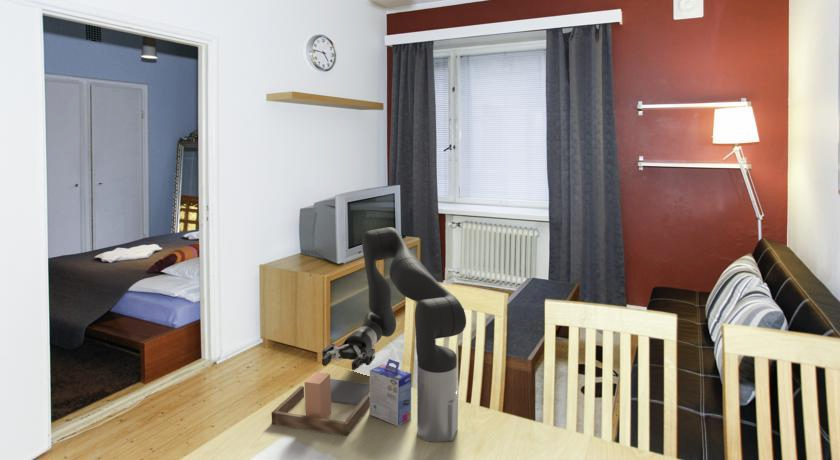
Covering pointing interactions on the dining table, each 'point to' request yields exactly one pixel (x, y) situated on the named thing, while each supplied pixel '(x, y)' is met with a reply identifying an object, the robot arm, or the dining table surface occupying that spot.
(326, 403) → the tall peach block
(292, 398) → the walnut open frame
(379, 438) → the dining table surface
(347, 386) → the charcoal mat
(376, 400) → the ink cartridge box
